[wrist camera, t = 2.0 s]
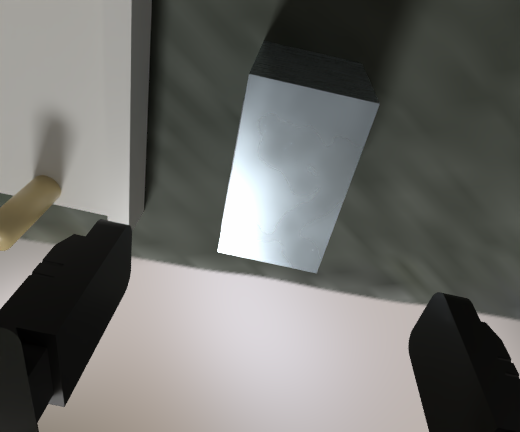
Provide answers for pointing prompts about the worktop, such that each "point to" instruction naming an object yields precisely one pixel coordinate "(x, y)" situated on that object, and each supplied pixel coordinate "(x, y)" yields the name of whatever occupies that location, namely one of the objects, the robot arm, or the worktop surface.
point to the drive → (295, 155)
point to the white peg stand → (73, 109)
